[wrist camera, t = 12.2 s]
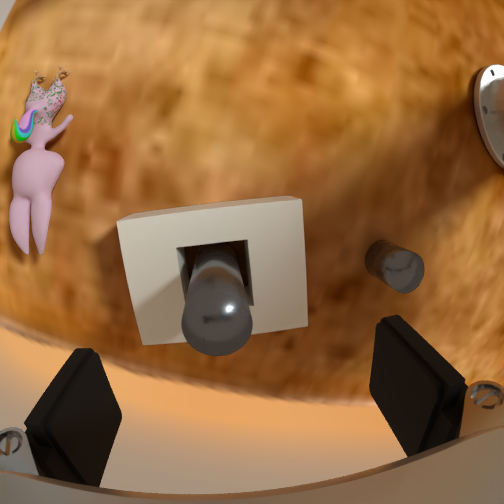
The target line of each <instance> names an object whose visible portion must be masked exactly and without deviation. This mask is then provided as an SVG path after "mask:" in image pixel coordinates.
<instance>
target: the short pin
mask: <svg viewBox="0 0 504 504" xmlns="http://www.w3.org/2000/svg"><path fill="white" fill-rule="evenodd" d="M365 264H366V268H367V270H368V271H369V272H370V273H371V274H372V275H374V276H375V277H377V278H378V279H380V280H381V281H383V282H384V283H386V284H387V285H389V286H390V287H391V288H393V289H394V290H396V291H397V292H399V293H409V292H411V291H413V290H414V289H416V288H417V287H418V285H419V284H420V283H421V281H422V279H423V276H424V262H423V260H422V258H421V257H420V256H419V255H418V254H416V253H413V252H411V251H409V250H407V249H404V248H402V247H400V246H398V245H395V244H393V243H391V242H388V241H385V240H381V241H377V242H375V243H374V244H373V245H371V247H370V248H369V249H368V251H367V253H366V257H365Z"/></svg>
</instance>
